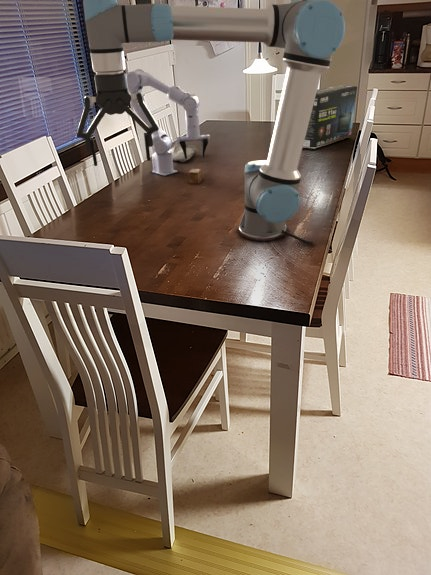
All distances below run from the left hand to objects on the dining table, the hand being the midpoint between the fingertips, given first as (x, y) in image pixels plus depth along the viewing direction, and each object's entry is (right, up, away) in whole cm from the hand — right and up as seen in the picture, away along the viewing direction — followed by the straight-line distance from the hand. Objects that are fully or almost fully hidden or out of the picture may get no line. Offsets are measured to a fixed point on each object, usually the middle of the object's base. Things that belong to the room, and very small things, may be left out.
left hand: (194, 157), depth 203 cm
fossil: (-9, +7, +26) cm, 29 cm away
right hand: (-15, -25, -84) cm, 89 cm away
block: (+1, -12, -6) cm, 14 cm away
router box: (+68, +19, +41) cm, 82 cm away
